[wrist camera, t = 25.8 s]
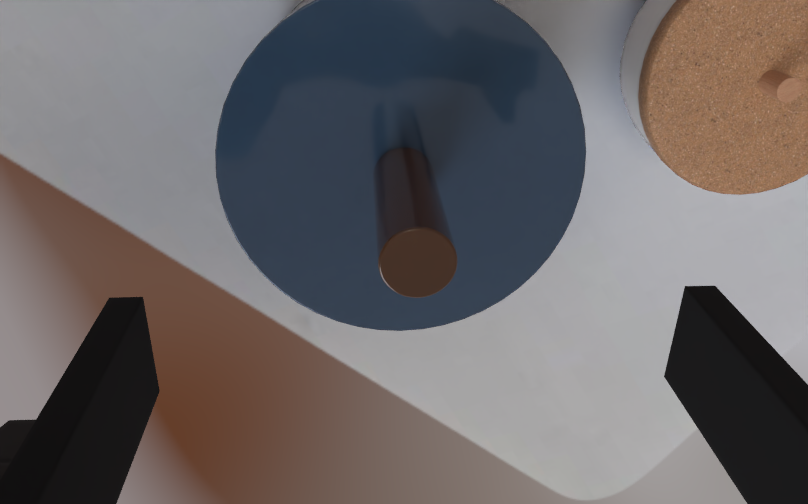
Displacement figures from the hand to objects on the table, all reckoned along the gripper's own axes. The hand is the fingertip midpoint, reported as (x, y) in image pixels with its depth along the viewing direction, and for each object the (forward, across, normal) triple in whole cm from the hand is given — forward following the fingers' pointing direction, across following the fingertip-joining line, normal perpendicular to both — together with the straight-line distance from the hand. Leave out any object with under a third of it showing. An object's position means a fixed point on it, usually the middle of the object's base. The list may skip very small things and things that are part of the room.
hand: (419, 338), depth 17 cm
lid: (+12, 0, 0) cm, 12 cm away
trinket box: (+23, +16, +3) cm, 28 cm away
